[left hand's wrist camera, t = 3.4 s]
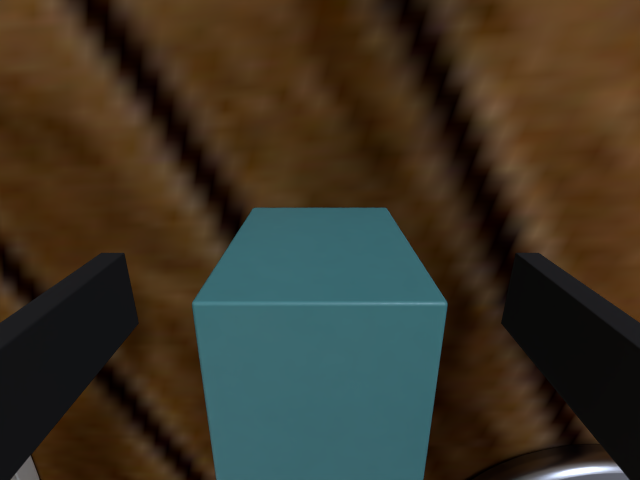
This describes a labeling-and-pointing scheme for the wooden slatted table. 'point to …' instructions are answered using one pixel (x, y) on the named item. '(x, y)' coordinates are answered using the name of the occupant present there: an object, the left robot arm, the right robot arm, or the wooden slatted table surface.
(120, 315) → the left robot arm
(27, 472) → the tray
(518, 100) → the wooden slatted table surface
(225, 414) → the block
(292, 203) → the wooden slatted table surface
